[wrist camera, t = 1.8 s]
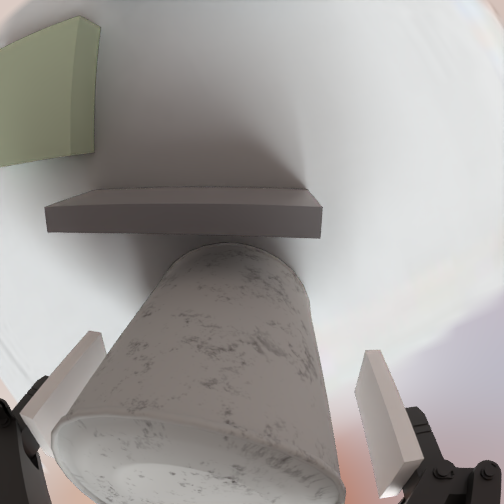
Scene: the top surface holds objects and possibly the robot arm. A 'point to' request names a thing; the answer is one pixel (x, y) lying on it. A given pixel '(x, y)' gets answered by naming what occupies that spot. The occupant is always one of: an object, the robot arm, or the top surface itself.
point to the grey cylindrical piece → (208, 394)
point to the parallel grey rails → (190, 212)
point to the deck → (49, 93)
